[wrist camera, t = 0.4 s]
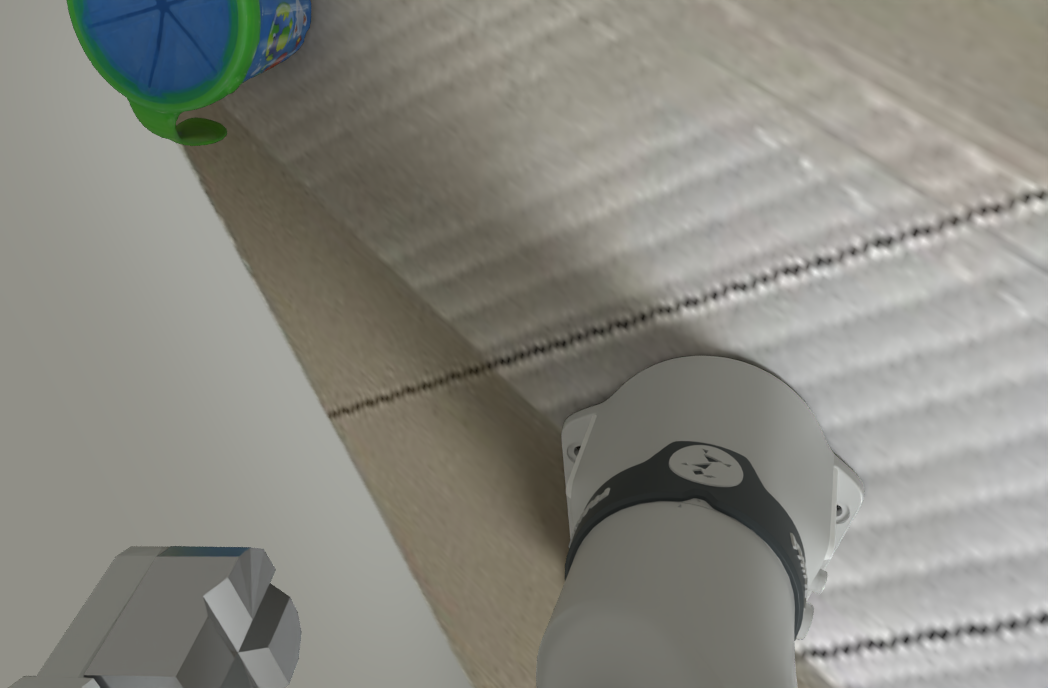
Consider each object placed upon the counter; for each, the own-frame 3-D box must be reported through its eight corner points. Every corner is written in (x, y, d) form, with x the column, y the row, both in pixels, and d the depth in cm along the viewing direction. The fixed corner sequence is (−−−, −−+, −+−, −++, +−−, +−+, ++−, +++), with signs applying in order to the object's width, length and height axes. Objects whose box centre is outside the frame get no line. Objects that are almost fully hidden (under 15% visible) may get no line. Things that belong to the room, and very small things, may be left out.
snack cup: (211, -178, 52) (84, -205, 43) (374, -102, 51) (280, -114, 42) (161, 83, 59) (44, 107, 50) (304, 154, 58) (210, 191, 49)
